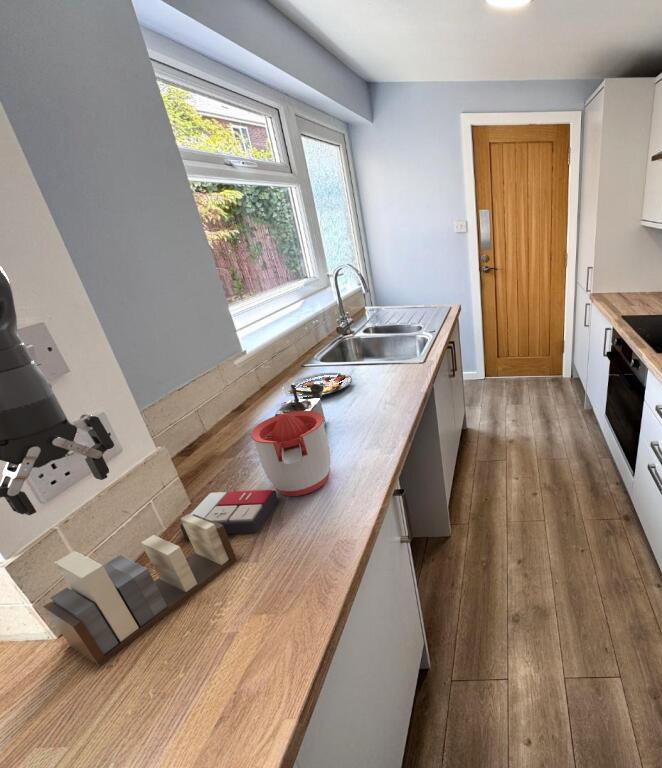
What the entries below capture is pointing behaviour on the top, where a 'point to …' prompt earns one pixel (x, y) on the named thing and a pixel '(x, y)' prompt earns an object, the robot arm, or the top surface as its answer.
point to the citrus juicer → (294, 451)
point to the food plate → (327, 389)
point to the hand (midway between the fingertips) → (67, 494)
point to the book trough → (144, 588)
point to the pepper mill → (305, 401)
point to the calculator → (237, 510)
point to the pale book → (97, 592)
